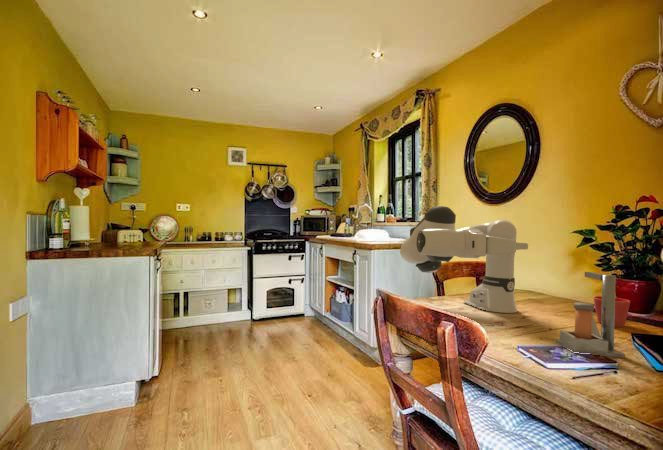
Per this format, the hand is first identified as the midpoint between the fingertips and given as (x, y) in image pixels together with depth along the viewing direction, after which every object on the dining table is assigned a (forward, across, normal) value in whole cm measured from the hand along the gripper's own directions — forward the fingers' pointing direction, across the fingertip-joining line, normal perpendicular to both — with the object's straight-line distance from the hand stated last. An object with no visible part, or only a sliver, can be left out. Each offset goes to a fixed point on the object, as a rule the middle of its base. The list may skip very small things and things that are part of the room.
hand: (520, 245), depth 102 cm
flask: (+29, -17, -30) cm, 45 cm away
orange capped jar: (+18, -1, -29) cm, 34 cm away
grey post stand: (+20, -3, -30) cm, 36 cm away
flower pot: (+46, -34, -30) cm, 65 cm away
